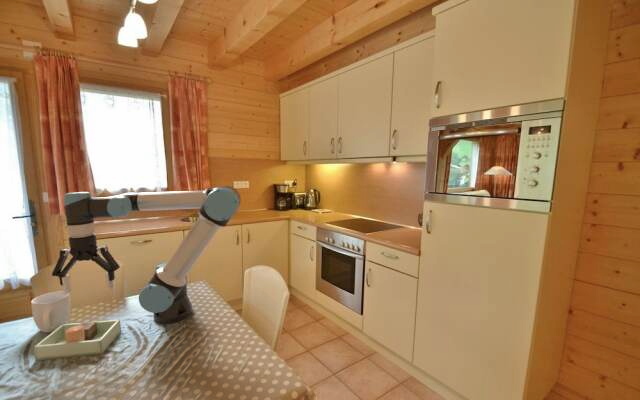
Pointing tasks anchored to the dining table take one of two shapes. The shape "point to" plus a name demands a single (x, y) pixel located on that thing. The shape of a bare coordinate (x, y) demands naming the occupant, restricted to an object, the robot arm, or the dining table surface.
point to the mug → (51, 310)
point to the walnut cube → (89, 330)
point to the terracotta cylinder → (75, 334)
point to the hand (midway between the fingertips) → (89, 291)
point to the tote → (58, 348)
